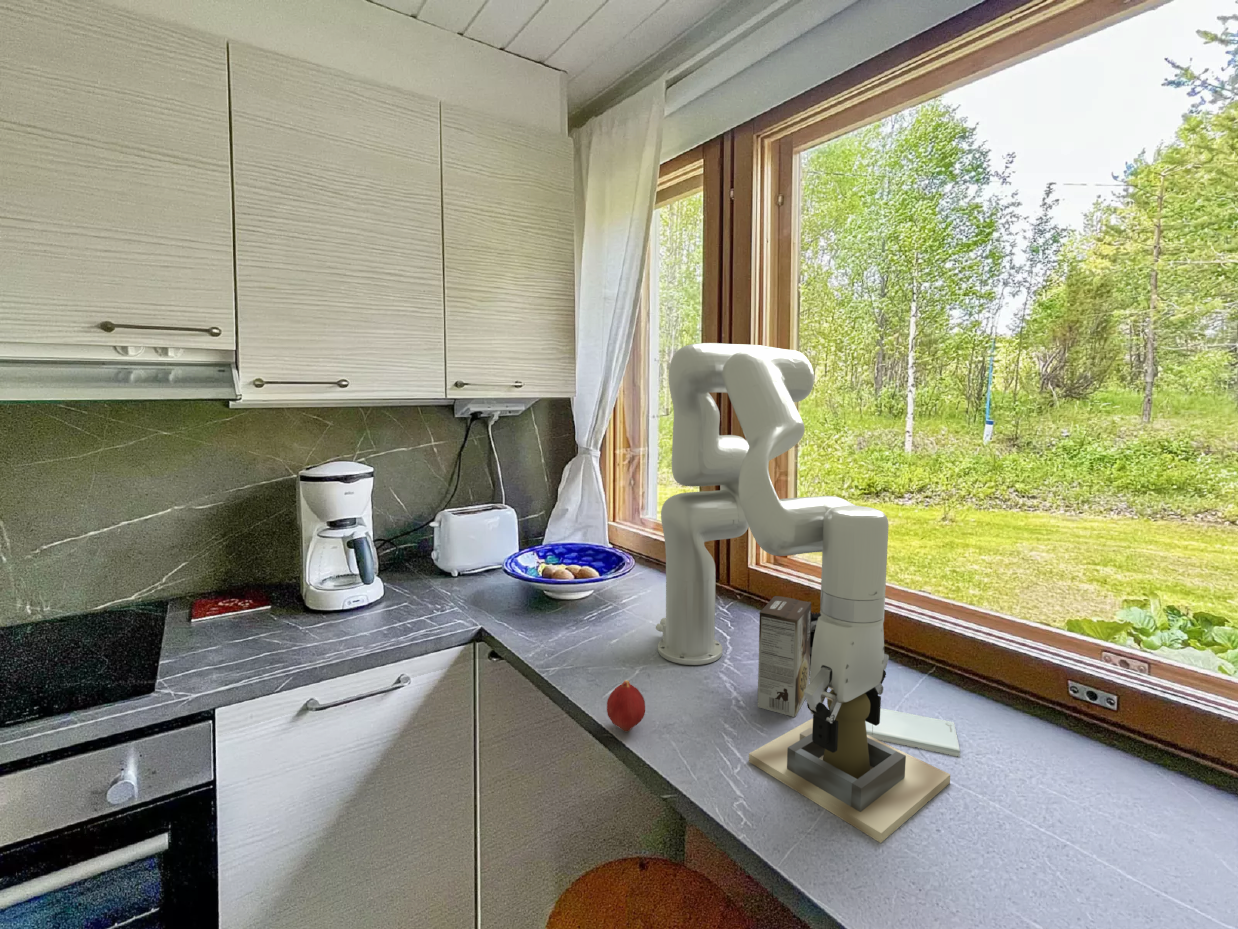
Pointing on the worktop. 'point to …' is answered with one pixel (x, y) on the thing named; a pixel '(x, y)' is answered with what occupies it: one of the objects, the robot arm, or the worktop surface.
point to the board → (853, 781)
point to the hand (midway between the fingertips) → (846, 733)
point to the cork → (851, 737)
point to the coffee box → (784, 655)
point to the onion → (625, 706)
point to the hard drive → (915, 732)
